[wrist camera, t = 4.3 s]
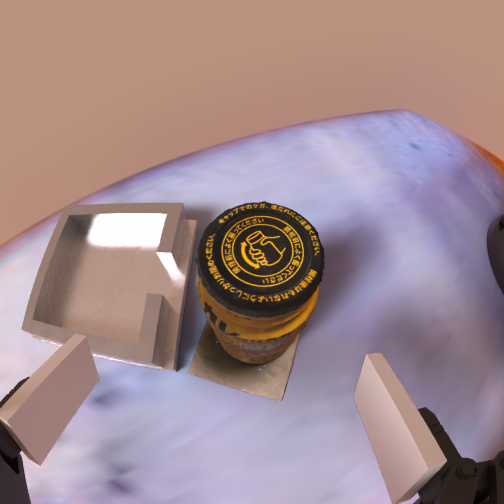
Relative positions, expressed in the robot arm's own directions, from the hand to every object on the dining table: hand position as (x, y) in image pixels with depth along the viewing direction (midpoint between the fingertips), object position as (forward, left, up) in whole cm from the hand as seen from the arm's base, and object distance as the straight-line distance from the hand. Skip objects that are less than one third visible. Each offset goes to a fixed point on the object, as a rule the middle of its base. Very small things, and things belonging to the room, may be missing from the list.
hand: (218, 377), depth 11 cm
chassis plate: (+12, -7, -9) cm, 16 cm away
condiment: (-1, -4, -9) cm, 10 cm away
